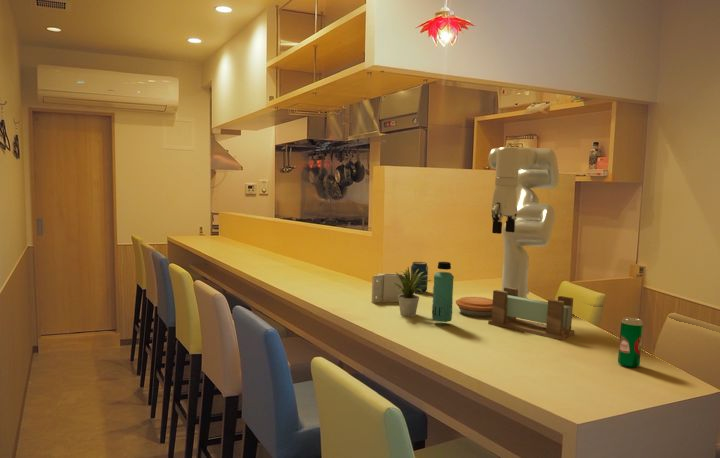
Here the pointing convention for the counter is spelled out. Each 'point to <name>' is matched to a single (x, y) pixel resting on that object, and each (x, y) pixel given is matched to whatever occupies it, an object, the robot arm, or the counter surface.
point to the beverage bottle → (443, 294)
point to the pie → (475, 306)
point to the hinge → (386, 288)
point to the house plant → (409, 292)
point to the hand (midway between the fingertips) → (503, 232)
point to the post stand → (549, 330)
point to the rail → (534, 310)
